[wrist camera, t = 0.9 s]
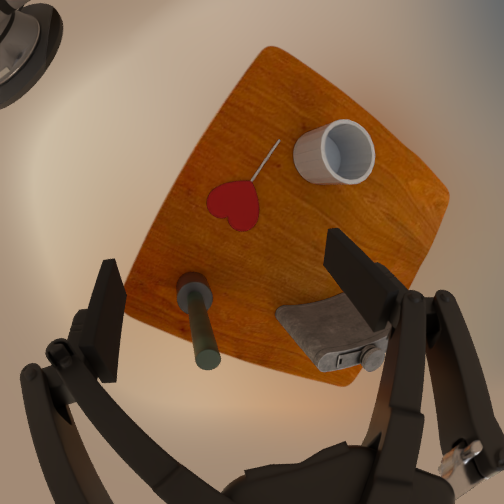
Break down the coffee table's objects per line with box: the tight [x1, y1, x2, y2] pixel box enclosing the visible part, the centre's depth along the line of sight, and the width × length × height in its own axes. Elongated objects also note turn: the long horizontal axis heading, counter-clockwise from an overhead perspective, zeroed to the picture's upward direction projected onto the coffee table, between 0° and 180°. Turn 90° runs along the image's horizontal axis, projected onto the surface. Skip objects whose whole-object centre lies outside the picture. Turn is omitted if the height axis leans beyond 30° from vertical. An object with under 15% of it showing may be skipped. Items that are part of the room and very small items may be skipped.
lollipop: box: [207, 139, 281, 231], centre depth 41 cm, size 8×1×15 cm
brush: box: [177, 272, 221, 370], centre depth 33 cm, size 5×5×20 cm
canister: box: [293, 120, 375, 185], centre depth 39 cm, size 9×9×9 cm
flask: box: [275, 293, 392, 372], centre depth 40 cm, size 4×14×18 cm, turn 94°
